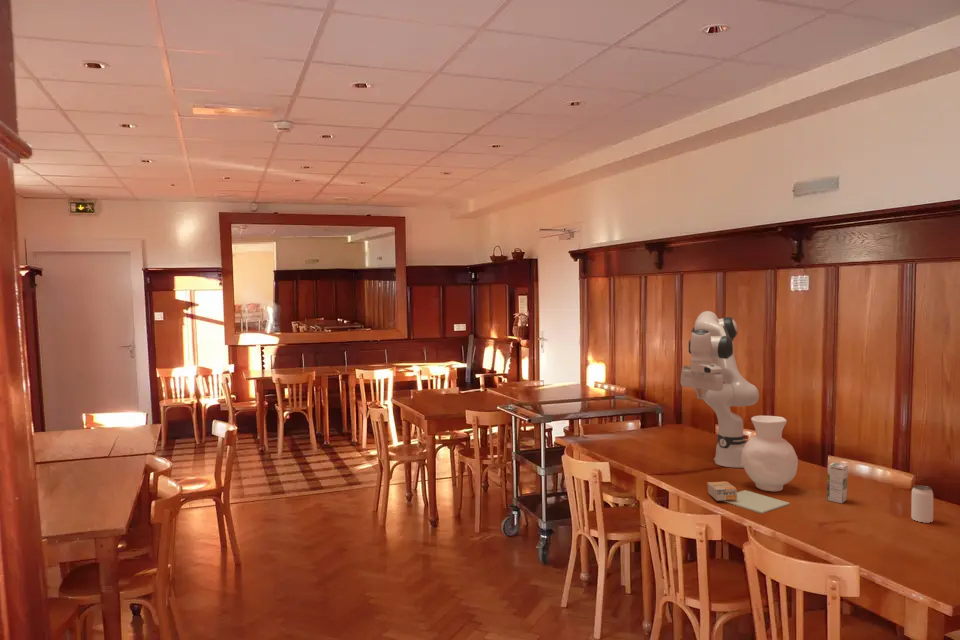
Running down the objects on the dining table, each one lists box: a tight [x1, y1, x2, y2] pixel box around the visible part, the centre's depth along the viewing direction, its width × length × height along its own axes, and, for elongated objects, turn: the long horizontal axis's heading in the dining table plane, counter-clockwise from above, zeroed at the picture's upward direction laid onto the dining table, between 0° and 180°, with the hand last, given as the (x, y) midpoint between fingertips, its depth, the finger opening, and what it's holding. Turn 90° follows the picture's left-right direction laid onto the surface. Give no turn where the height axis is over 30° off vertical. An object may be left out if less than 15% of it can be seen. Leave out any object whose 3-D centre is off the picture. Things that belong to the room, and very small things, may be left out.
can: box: [910, 484, 934, 524], centre depth 233 cm, size 6×6×12 cm
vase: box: [741, 415, 799, 492], centre depth 273 cm, size 19×21×30 cm
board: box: [723, 489, 791, 514], centre depth 257 cm, size 18×20×1 cm
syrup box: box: [826, 462, 849, 504], centre depth 256 cm, size 6×6×14 cm
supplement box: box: [706, 480, 738, 502], centre depth 263 cm, size 8×5×13 cm
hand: (701, 398), depth 281 cm, fingers closed
